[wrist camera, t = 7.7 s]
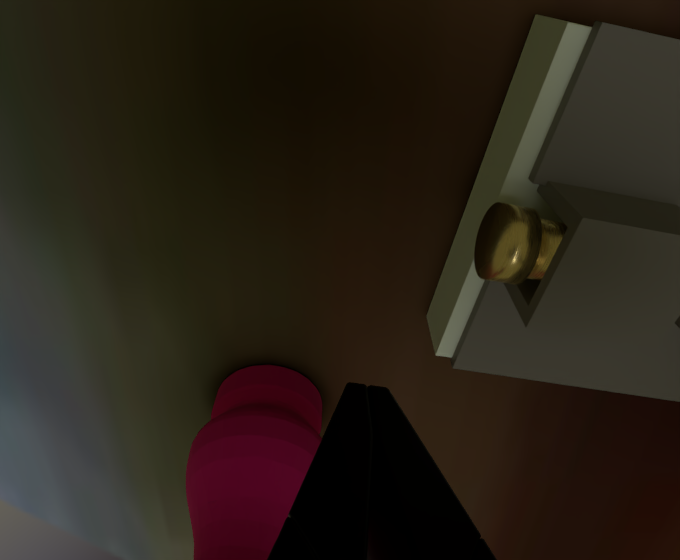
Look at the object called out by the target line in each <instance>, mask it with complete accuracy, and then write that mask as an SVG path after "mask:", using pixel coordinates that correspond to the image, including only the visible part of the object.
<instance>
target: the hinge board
mask: <svg viewBox="0 0 680 560" xmlns="http://www.w3.org/2000/svg"><path fill="white" fill-rule="evenodd" d="M497 202H501V203H506V204H512V205H517V206H523V207H528V208H533V209H535V210H536V211H537V212H538V214H539V216H540V218H541V219H546V220H552V221H557V222H563V223H565V225H566V226H567V227H568V228H567V230H566V232H565V234H564V236H563V238H562V240H561V242H560V244H559V246H558V248H557V250H556V252H555V254H554V256H553V258H552V260H551V262H550V264H549V266H548V268H547V270H546V272H545V274H544V276H543V278H542V280H541V281H540V280H534V279H528V278H527V279H526V280H525V281H523V282H522V283H520V284H517V285H514V284H508V283H502V282H496V281H490V280H484V279H481V278H480V277H479V276H478V275H477V273H476V270H475V264H474V250H475V242H476V237H477V233H478V230H479V227H480V224H481V221H482V219H483V217H484V215H485V213H486V212H487V210H488V209H489V208H490V207H491V206H492V205H493V204H494V203H497ZM426 317H427V321H428V325H429V330H430V334H431V338H432V343H433V347H434V351H435V355H437V356H444V357H451V358H452V359H451V364H452V368H454V369H461V370H468V371H475V372H481V373H488V374H495V375H502V376H509V377H515V378H522V379H529V380H536V381H542V382H549V383H556V384H563V385H570V386H576V387H583V388H590V389H597V390H603V391H610V392H617V393H624V394H631V395H637V396H644V397H651V398H658V399H664V400H671V401H678V402H680V40H679V39H674V38H670V37H666V36H661V35H657V34H652V33H648V32H643V31H639V30H635V29H630V28H626V27H621V26H617V25H612V24H608V23H604V22H599V21H595V22H594V25H593V27H590V26H586V25H581V24H577V23H572V22H568V21H563V20H559V19H555V18H550V17H546V16H541V15H537V14H536V15H535V17H534V20H533V23H532V26H531V28H530V31H529V34H528V37H527V39H526V42H525V45H524V48H523V51H522V53H521V56H520V59H519V62H518V64H517V67H516V70H515V73H514V75H513V78H512V81H511V84H510V86H509V89H508V92H507V95H506V97H505V100H504V103H503V106H502V108H501V111H500V114H499V117H498V120H497V122H496V125H495V128H494V131H493V133H492V136H491V139H490V142H489V144H488V147H487V150H486V153H485V155H484V158H483V161H482V164H481V166H480V169H479V172H478V175H477V177H476V180H475V183H474V186H473V189H472V191H471V194H470V197H469V200H468V202H467V205H466V208H465V211H464V213H463V216H462V219H461V222H460V224H459V227H458V230H457V233H456V235H455V238H454V241H453V244H452V246H451V249H450V252H449V255H448V257H447V260H446V263H445V266H444V269H443V271H442V274H441V277H440V280H439V282H438V285H437V288H436V291H435V293H434V296H433V299H432V302H431V304H430V307H429V310H428V313H427V315H426Z"/></svg>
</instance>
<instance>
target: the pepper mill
mask: <svg viewBox="0 0 680 560" xmlns="http://www.w3.org/2000/svg"><path fill="white" fill-rule="evenodd" d="M321 422H322V400H321V396H320V393H319V391H318V390H317V388H316V387H315V386H314V385H313V384H312V383H311V381H310V380H309V379H308V378H306V377H304V376H303V375H301V374H300V373H298V372H296V371H294V370H291V369H288V368H285V367H281V366H274V365H256V366H250V367H247V368H244V369H240V370H238V371H236V372H235V373H233V374H231V375H230V376H228V377H227V378H226V379H225V380H224V381H223V383H222V384H221V386H220V388H219V390H218V393H217V396H216V399H215V403H214V406H213V409H212V413H211V420H210V421H209V422H208V423H207V424H206V425H205V426H204V427H203V428H202V429H201V430H200V431H199V432H198V434H197V436H196V437H195V439H194V441H193V443H192V446H191V449H190V454H189V458H188V463H187V470H186V493H187V501H188V507H189V513H190V518H191V524H192V529H193V538H194V560H267V558H268V556H269V554H270V552H271V550H272V548H273V546H274V544H275V542H276V540H277V538H278V535H279V533H280V531H281V529H282V526H283V524H284V522H285V520H286V518H287V517H288V514H289V511H290V509H291V507H292V505H293V502H294V500H295V498H296V496H297V494H298V491H299V489H300V487H301V485H302V482H303V480H304V478H305V476H306V473H307V471H308V469H309V467H310V465H311V462H312V460H313V458H314V456H315V453H316V451H317V449H318V447H319V444H320V442H321V440H322V438H321V437H320V435H319V434H320V431H321Z"/></svg>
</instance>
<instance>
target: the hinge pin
mask: <svg viewBox="0 0 680 560" xmlns="http://www.w3.org/2000/svg"><path fill="white" fill-rule="evenodd" d="M567 228H568V227H567V226H566V225H565V223H563V222H557V221H552V220H546V219H541V218H540V216H539V214H538V212H537V211H536V210H535V209H533V208H528V207H523V206H517V205H512V204H506V203H501V202H497V203H494V204H493V205H492V206H491V207H490V208H489V209H488V210H487V212H486V213H485V215H484V217H483V219H482V221H481V224H480V227H479V230H478V233H477V237H476V242H475V250H474V264H475V270H476V273H477V275H478V276H479V277H480V278H481V279H484V280H490V281H496V282H502V283H508V284H514V285H517V284H520V283H522V282H523V281H525V280H526V279H527V278H528V279H534V280H540V281H541V280H542V278H543V276H544V274H545V272H546V270H547V268H548V266H549V264H550V262H551V260H552V258H553V256H554V254H555V252H556V250H557V248H558V246H559V244H560V242H561V240H562V238H563V236H564V234H565V232H566V230H567Z"/></svg>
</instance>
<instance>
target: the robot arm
mask: <svg viewBox="0 0 680 560" xmlns="http://www.w3.org/2000/svg"><path fill="white" fill-rule="evenodd" d="M480 537H481V535H480V533H479V531H478V530H477V528H476V527H475V525H474V523H473V522H472V520H471V519H470V517H469V515H468V514H467V512H466V511H465V509H464V508H463V506H462V504H461V503H460V501H459V500H458V498H457V496H456V495H455V493H454V492H453V490H452V489H451V487H450V485H449V484H448V482H447V481H446V479H445V477H444V476H443V474H442V473H441V471H440V470H439V468H438V466H437V465H436V463H435V462H434V460H433V458H432V457H431V455H430V454H429V452H428V451H427V449H426V447H425V446H424V444H423V443H422V441H421V439H420V438H419V436H418V435H417V433H416V432H415V430H414V428H413V427H412V425H411V424H410V422H409V420H408V419H407V417H406V416H405V414H404V413H403V411H402V409H401V408H400V406H399V405H398V403H397V401H396V400H395V398H394V397H393V395H392V394H391V392H390V390H389V389H388V388H386V387H380V386H373V385H370V386H368V387H367V386H366V385H365V384H358V383H351V382H349V383H347V385H346V386H345V389H344V391H343V393H342V395H341V398H340V400H339V402H338V404H337V406H336V409H335V411H334V413H333V415H332V418H331V420H330V422H329V424H328V427H327V429H326V431H325V433H324V435H323V438H322V440H321V442H320V444H319V447H318V449H317V451H316V453H315V456H314V458H313V460H312V462H311V465H310V467H309V469H308V471H307V473H306V476H305V478H304V480H303V482H302V485H301V487H300V489H299V491H298V494H297V496H296V498H295V500H294V502H293V505H292V507H291V509H290V511H289V514H288V517H287V518H286V520H285V522H284V524H283V526H282V529H281V531H280V533H279V535H278V538H277V540H276V542H275V544H274V546H273V548H272V550H271V552H270V554H269V556H268V558H267V560H497V559H496V558H495V556H494V555H493V553H492V552H491V550H490V548H489V547H488V545H487V544H486V542H485V541H484V539H482V538H481V539H480Z"/></svg>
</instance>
